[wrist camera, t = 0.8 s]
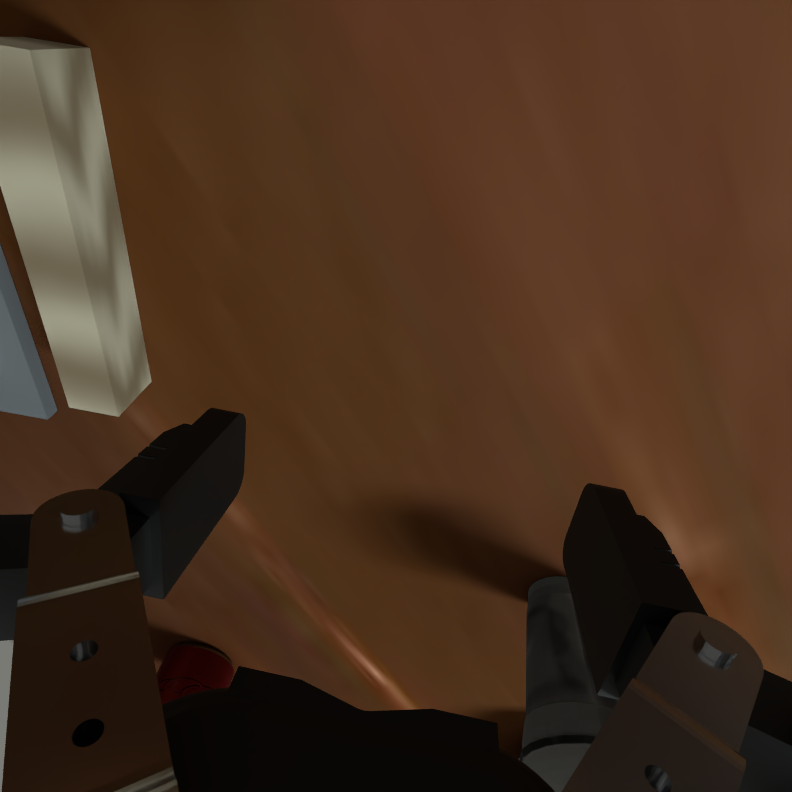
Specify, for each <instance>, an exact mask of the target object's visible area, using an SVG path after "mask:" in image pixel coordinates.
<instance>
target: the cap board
mask: <svg viewBox="0 0 792 792" xmlns="http://www.w3.org/2000/svg"><path fill="white" fill-rule="evenodd" d="M0 411H4V412H9V413H15V414H20V415H26V416H31V417H37V418H42V419H49V418H50V417H51V416H52V415H53V414H54V413H56V412H57V411H58V410H57V408H56V405H55V402H54V399H53V396H52V393H51V390H50V387H49V384H48V381H47V378H46V376H45V373H44V370H43V367H42V364H41V361H40V358H39V355H38V352H37V349H36V347H35V344H34V341H33V338H32V335H31V332H30V329H29V326H28V323H27V320H26V318H25V315H24V312H23V309H22V306H21V303H20V300H19V297H18V294H17V291H16V288H15V286H14V283H13V280H12V277H11V274H10V271H9V268H8V265H7V262H6V259H5V257H4V254H3V251H2V248H1V245H0Z"/></svg>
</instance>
